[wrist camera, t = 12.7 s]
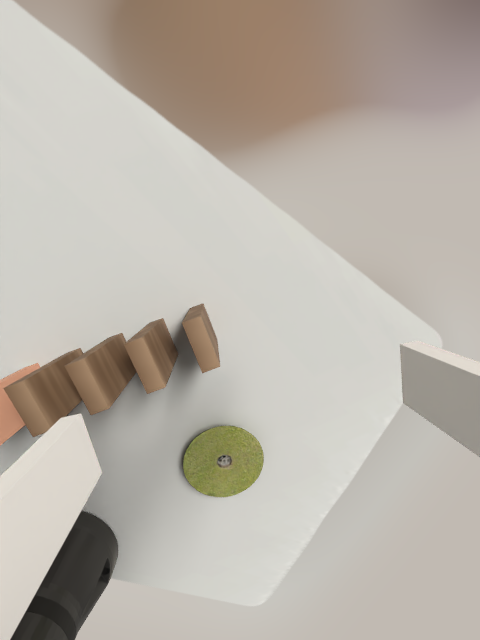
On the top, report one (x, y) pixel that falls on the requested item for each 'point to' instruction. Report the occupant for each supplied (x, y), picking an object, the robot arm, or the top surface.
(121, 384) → the domino
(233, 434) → the green round flat disc
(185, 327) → the domino
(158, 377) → the domino
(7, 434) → the domino
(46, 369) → the domino
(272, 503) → the top surface
